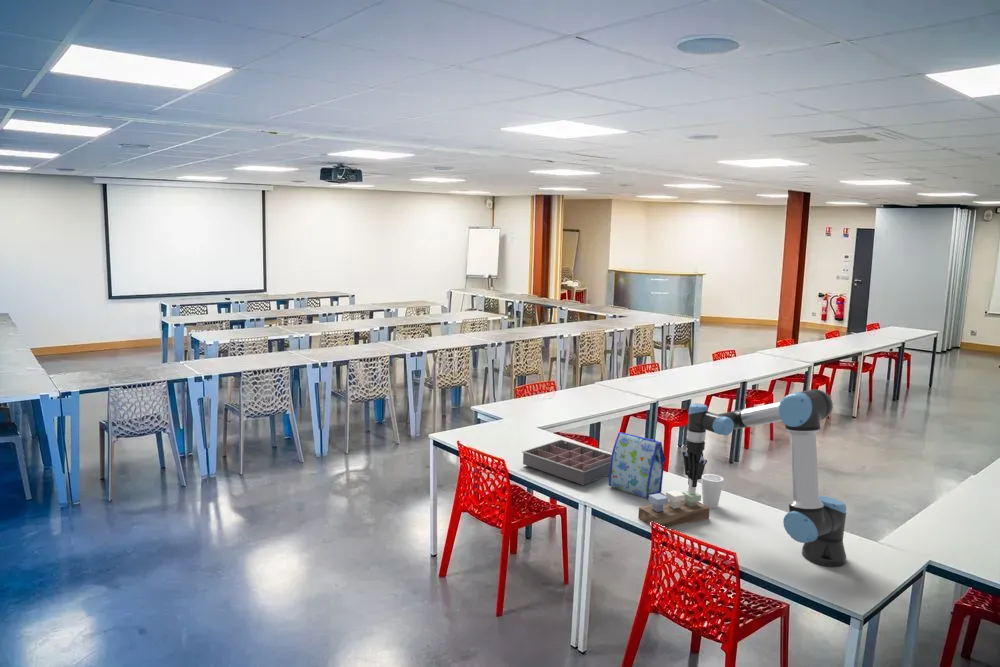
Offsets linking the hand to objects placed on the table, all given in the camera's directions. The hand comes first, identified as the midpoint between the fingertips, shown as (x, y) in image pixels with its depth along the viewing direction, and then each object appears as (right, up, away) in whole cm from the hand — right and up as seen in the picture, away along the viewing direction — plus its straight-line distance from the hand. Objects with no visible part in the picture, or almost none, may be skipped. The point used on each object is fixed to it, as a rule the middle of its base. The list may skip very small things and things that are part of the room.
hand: (691, 493), depth 292 cm
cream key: (-8, -5, -3) cm, 10 cm away
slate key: (-16, -5, -7) cm, 19 cm away
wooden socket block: (-8, -10, -2) cm, 13 cm away
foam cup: (+12, -9, +13) cm, 20 cm away
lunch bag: (-18, -5, +29) cm, 35 cm away
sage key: (0, -6, +1) cm, 6 cm away
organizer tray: (-46, -1, +54) cm, 71 cm away
